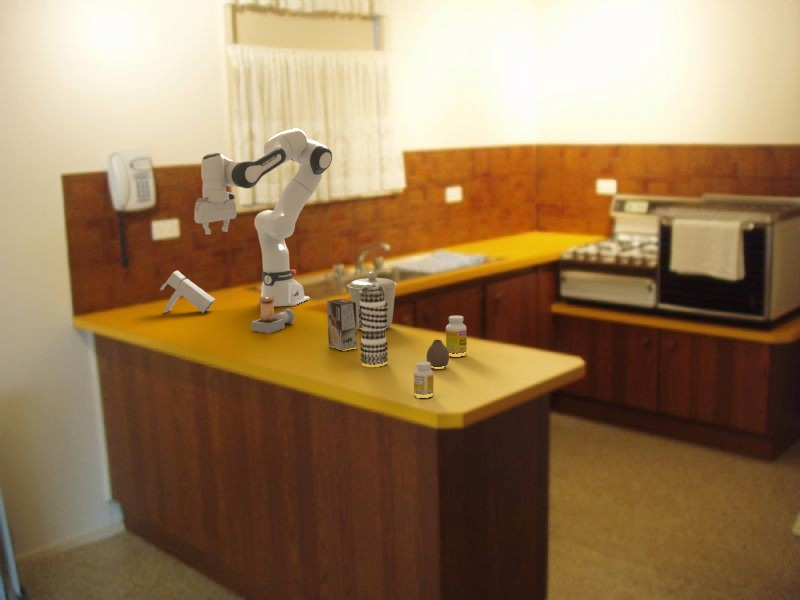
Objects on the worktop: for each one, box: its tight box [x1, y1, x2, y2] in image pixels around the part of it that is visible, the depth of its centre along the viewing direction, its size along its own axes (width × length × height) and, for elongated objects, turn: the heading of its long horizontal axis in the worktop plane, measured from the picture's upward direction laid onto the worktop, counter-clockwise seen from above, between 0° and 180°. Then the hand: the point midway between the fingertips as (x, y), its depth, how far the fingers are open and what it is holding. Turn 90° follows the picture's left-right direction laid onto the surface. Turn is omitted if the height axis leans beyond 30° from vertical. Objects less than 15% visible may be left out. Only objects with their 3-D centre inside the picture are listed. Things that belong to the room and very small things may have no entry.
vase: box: [426, 339, 450, 367], centre depth 288 cm, size 7×7×9 cm
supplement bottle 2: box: [445, 315, 468, 354], centre depth 302 cm, size 7×7×13 cm
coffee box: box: [326, 298, 358, 350], centre depth 315 cm, size 9×6×16 cm
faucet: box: [159, 270, 216, 314], centre depth 382 cm, size 6×16×20 cm
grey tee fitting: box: [250, 308, 296, 334], centre depth 349 cm, size 17×9×6 cm, turn 149°
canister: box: [347, 271, 398, 330], centre depth 343 cm, size 18×18×21 cm
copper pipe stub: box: [258, 296, 275, 323], centre depth 345 cm, size 6×6×12 cm
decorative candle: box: [358, 285, 389, 365], centre depth 292 cm, size 9×9×25 cm
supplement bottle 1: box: [413, 360, 434, 395], centre depth 258 cm, size 5×5×10 cm
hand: (216, 232), depth 359 cm, fingers open, 8 cm apart
